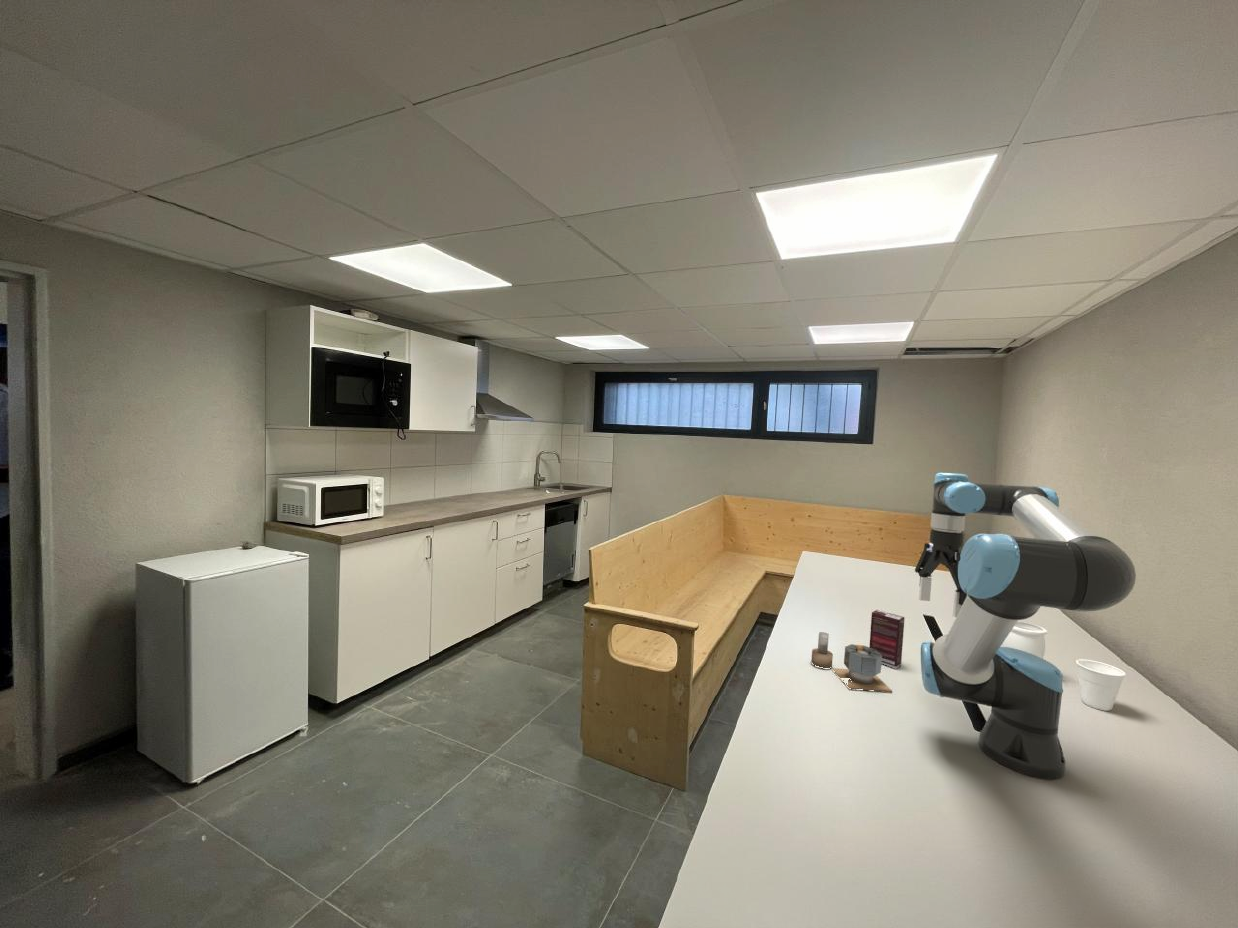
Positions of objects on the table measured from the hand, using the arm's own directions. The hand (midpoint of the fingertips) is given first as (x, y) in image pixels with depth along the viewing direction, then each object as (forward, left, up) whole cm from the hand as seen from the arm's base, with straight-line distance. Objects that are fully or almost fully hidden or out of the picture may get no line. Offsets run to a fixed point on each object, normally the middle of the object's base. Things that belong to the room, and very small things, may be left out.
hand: (940, 608), depth 131 cm
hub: (+10, +15, -26) cm, 32 cm away
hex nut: (+10, +15, -22) cm, 29 cm away
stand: (+19, +23, -26) cm, 40 cm away
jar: (+24, -42, -27) cm, 55 cm away
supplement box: (+24, +1, -27) cm, 36 cm away
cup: (+5, -48, -27) cm, 55 cm away
